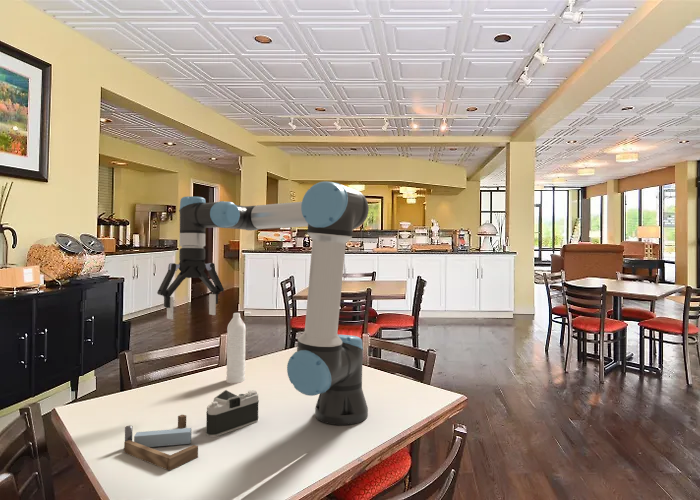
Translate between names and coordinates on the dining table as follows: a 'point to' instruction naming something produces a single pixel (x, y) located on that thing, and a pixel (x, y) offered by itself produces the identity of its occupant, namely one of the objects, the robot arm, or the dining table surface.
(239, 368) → the water bottle
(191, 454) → the left rail
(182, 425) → the stop block
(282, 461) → the dining table surface
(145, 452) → the back rail
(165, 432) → the leg bar
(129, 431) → the pivot pin
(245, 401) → the camera
